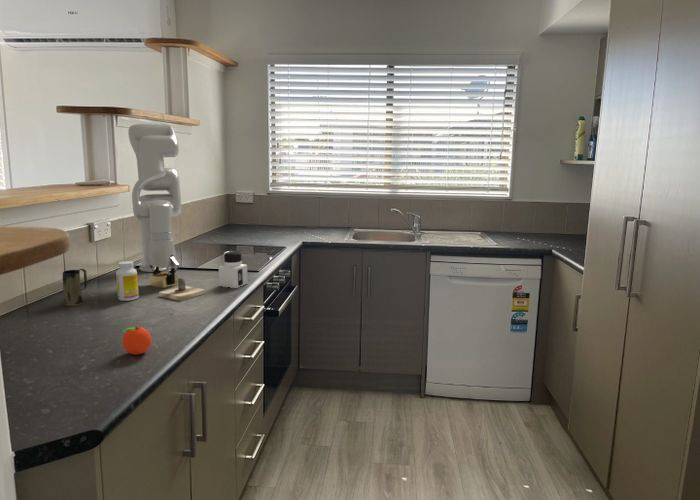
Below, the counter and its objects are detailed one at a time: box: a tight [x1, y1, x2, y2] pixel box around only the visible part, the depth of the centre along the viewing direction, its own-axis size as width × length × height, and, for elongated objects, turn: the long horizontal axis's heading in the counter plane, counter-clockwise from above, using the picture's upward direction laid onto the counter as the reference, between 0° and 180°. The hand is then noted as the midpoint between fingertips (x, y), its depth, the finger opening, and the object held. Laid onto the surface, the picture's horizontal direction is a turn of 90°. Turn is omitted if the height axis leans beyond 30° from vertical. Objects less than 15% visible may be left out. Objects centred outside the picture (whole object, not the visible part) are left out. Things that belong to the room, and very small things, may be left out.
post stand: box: [158, 277, 206, 302], centre depth 188 cm, size 11×11×6 cm
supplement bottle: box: [115, 260, 140, 302], centre depth 183 cm, size 7×7×13 cm
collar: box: [149, 271, 178, 289], centre depth 201 cm, size 7×7×4 cm
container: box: [218, 250, 248, 289], centre depth 201 cm, size 8×8×13 cm
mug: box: [62, 268, 88, 307], centre depth 176 cm, size 8×6×12 cm
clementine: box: [118, 326, 152, 355], centre depth 136 cm, size 8×7×7 cm
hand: (164, 282), depth 202 cm, fingers closed on collar, 6 cm apart
